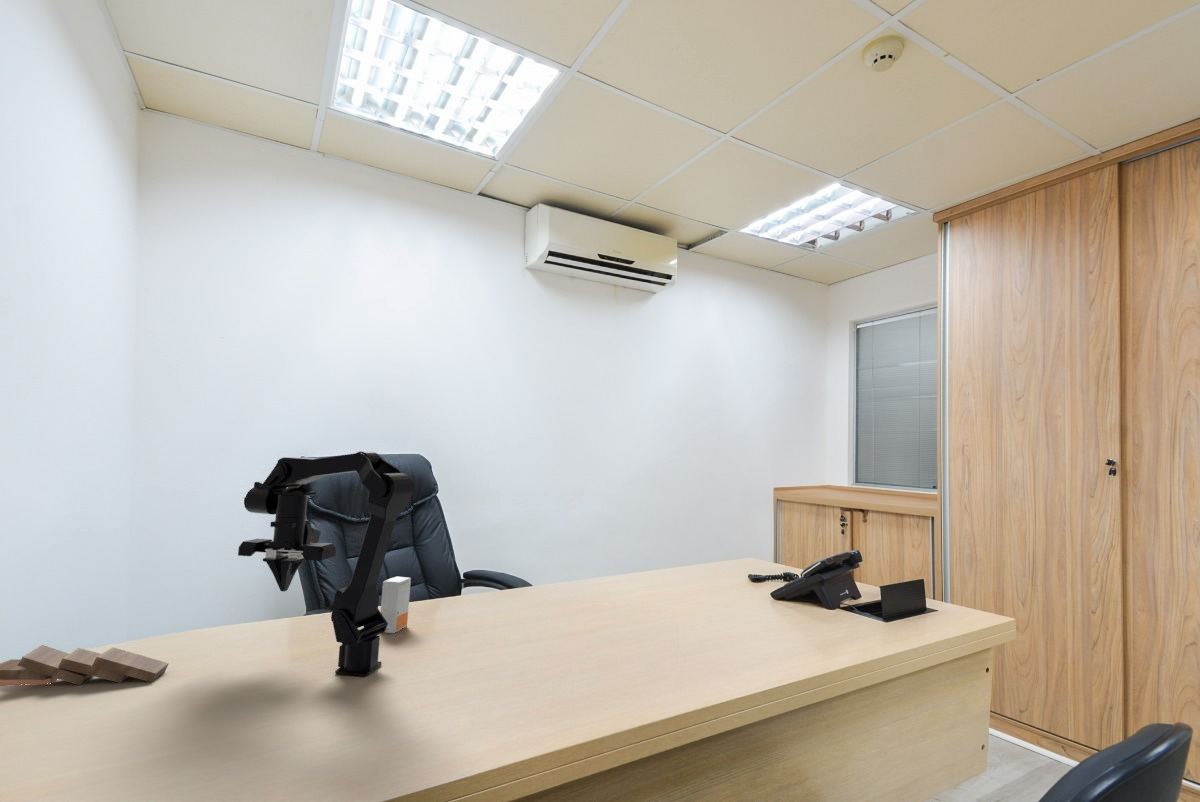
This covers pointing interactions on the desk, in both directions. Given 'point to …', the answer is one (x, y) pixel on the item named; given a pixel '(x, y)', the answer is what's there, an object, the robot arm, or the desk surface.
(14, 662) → the domino
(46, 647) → the domino
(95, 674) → the domino
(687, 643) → the desk surface
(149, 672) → the domino
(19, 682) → the domino
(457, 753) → the desk surface
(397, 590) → the skincare box
